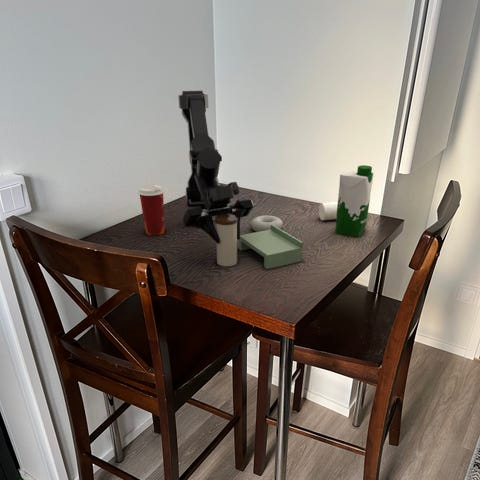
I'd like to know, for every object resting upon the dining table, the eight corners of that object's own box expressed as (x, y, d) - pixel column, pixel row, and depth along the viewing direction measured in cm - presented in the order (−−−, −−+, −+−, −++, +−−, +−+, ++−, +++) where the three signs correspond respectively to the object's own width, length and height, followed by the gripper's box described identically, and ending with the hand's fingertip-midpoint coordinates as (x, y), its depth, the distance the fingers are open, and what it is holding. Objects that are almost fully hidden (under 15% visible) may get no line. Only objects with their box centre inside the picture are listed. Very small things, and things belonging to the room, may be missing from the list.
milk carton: (359, 238, 146) (368, 171, 136) (331, 233, 150) (337, 167, 140) (368, 229, 153) (377, 164, 142) (341, 224, 157) (347, 161, 146)
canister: (212, 264, 131) (210, 219, 124) (222, 256, 135) (221, 212, 129) (231, 268, 128) (230, 222, 122) (241, 260, 133) (241, 216, 126)
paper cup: (172, 232, 152) (169, 187, 145) (153, 238, 147) (148, 192, 140) (156, 226, 156) (152, 182, 149) (137, 232, 152) (132, 187, 144)
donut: (248, 234, 150) (280, 236, 148) (248, 223, 148) (280, 225, 147) (253, 223, 159) (284, 224, 157) (253, 213, 157) (284, 214, 155)
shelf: (238, 248, 140) (238, 230, 137) (271, 241, 144) (272, 224, 142) (266, 269, 128) (267, 249, 125) (301, 261, 132) (303, 242, 129)
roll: (358, 220, 160) (360, 203, 157) (323, 222, 158) (325, 206, 156) (351, 214, 165) (353, 198, 162) (318, 216, 163) (319, 200, 161)
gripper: (184, 176, 119) (204, 233, 116) (250, 167, 127) (271, 220, 124) (174, 199, 129) (193, 252, 126) (237, 190, 137) (255, 240, 134)
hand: (228, 241), depth 127 cm, fingers closed on canister, 5 cm apart
